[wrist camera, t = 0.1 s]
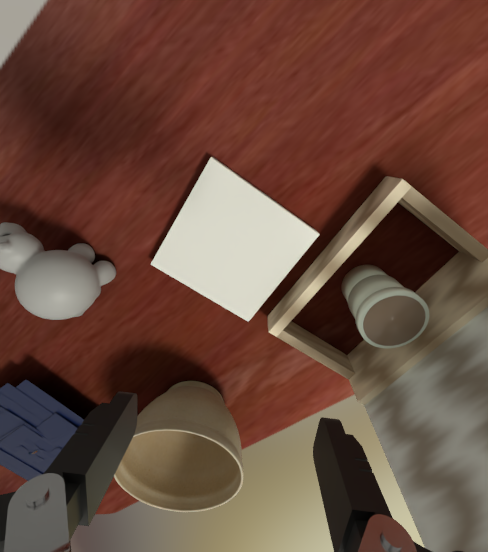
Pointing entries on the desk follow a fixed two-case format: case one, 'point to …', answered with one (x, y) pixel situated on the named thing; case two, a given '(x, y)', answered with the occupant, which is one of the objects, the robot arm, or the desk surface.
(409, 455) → the cold frame
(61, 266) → the round bodied animal figurine
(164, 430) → the planter bowl
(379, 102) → the desk surface
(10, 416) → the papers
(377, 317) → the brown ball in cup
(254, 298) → the concrete tile
